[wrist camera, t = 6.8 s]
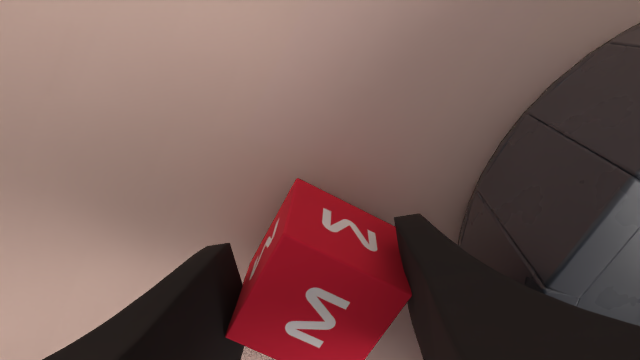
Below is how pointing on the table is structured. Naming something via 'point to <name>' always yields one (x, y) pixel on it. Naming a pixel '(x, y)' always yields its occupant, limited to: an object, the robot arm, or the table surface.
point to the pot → (570, 188)
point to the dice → (320, 281)
